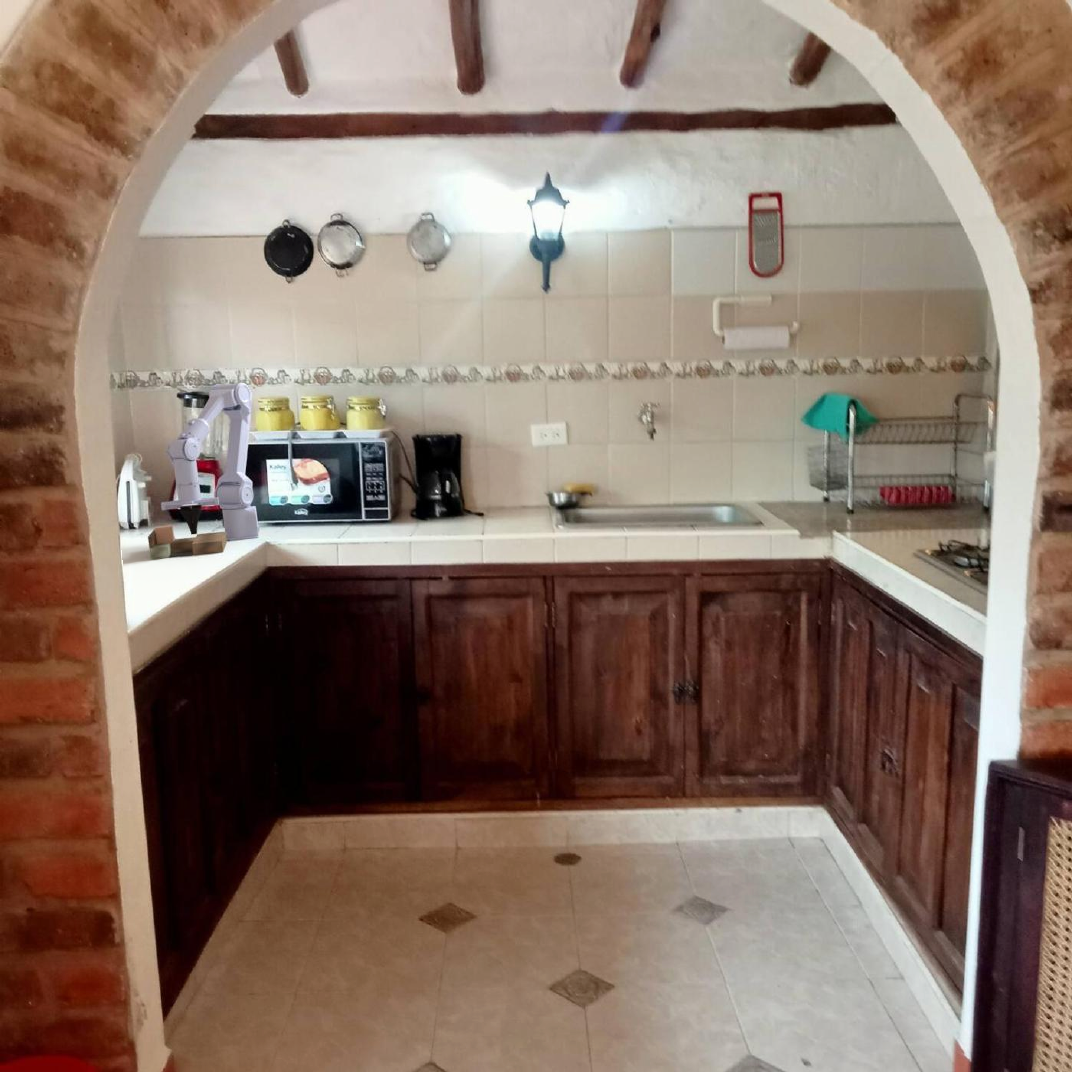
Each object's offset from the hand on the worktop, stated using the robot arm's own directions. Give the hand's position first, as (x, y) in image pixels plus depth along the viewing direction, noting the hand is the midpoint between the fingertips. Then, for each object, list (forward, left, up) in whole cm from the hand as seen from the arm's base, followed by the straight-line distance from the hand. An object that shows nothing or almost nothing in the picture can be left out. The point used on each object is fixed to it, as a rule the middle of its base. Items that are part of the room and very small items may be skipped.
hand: (194, 533), depth 254 cm
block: (+7, 0, -1) cm, 8 cm away
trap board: (+2, 0, -4) cm, 5 cm away
